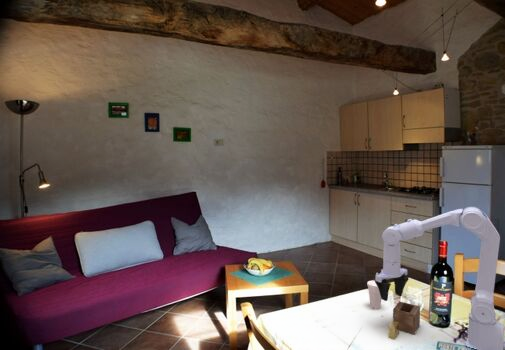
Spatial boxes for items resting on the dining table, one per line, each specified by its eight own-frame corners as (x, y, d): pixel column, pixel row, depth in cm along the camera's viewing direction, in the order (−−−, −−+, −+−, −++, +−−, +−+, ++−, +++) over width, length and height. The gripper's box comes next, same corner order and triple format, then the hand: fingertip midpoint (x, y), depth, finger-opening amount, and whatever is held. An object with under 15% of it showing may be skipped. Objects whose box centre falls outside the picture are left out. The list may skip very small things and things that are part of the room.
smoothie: (385, 311, 131) (385, 276, 131) (368, 309, 133) (368, 275, 132) (382, 303, 138) (382, 270, 137) (365, 302, 139) (366, 269, 138)
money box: (419, 325, 120) (420, 306, 120) (414, 334, 114) (414, 314, 113) (399, 319, 124) (399, 301, 124) (392, 328, 118) (393, 309, 118)
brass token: (392, 331, 116) (392, 320, 116) (398, 333, 115) (399, 322, 115) (388, 337, 112) (388, 326, 112) (394, 339, 111) (394, 328, 111)
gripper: (395, 254, 127) (395, 289, 128) (368, 260, 120) (368, 297, 121) (412, 259, 121) (412, 296, 121) (385, 266, 114) (384, 305, 115)
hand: (391, 297), depth 121 cm, fingers open, 7 cm apart
